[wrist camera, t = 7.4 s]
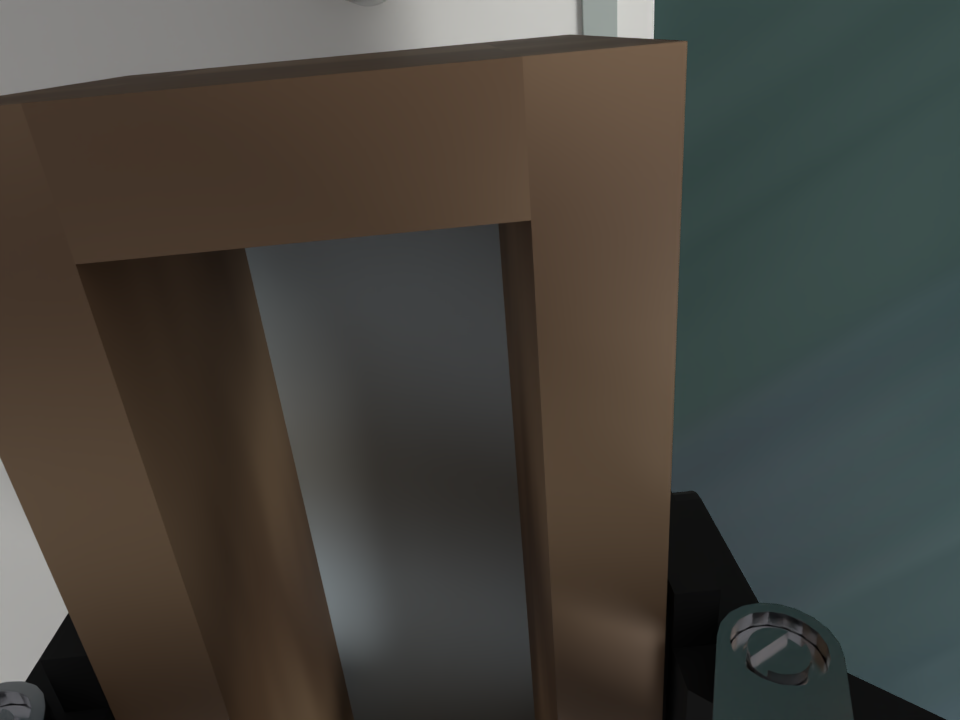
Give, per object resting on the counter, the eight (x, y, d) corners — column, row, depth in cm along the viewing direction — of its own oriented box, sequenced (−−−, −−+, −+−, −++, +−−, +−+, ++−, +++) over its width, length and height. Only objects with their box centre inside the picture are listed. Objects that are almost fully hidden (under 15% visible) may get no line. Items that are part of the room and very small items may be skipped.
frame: (589, 732, 16) (651, 1019, 11) (316, 762, 16) (267, 1063, 11) (569, 34, 10) (687, 40, 5) (127, 76, 10) (-150, 119, 5)
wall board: (636, 727, 21) (671, 852, 18) (3, 792, 21) (-77, 931, 18) (647, -157, 12) (723, -226, 9) (-473, -55, 12) (-815, -88, 9)
